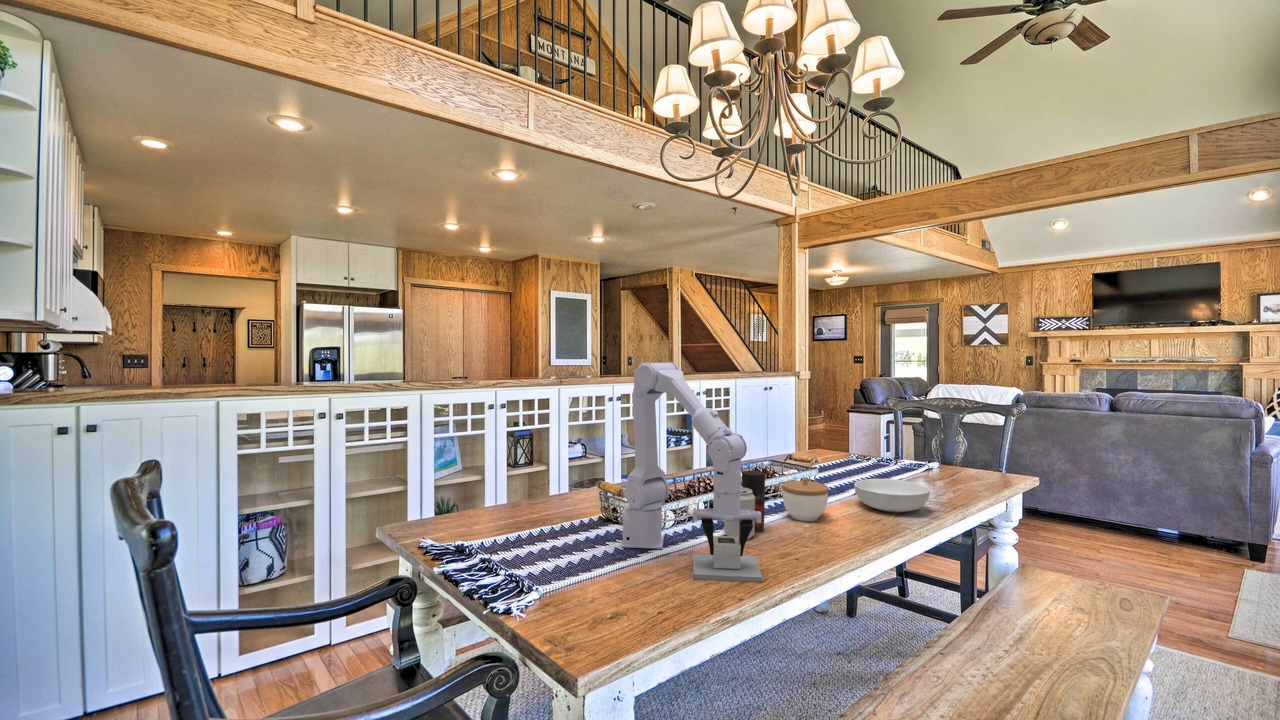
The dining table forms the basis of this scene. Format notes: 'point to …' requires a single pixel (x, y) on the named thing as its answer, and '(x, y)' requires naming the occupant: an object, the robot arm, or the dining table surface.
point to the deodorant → (756, 493)
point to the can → (745, 504)
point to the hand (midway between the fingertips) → (725, 554)
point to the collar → (726, 552)
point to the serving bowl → (892, 494)
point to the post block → (726, 569)
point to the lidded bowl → (805, 499)
